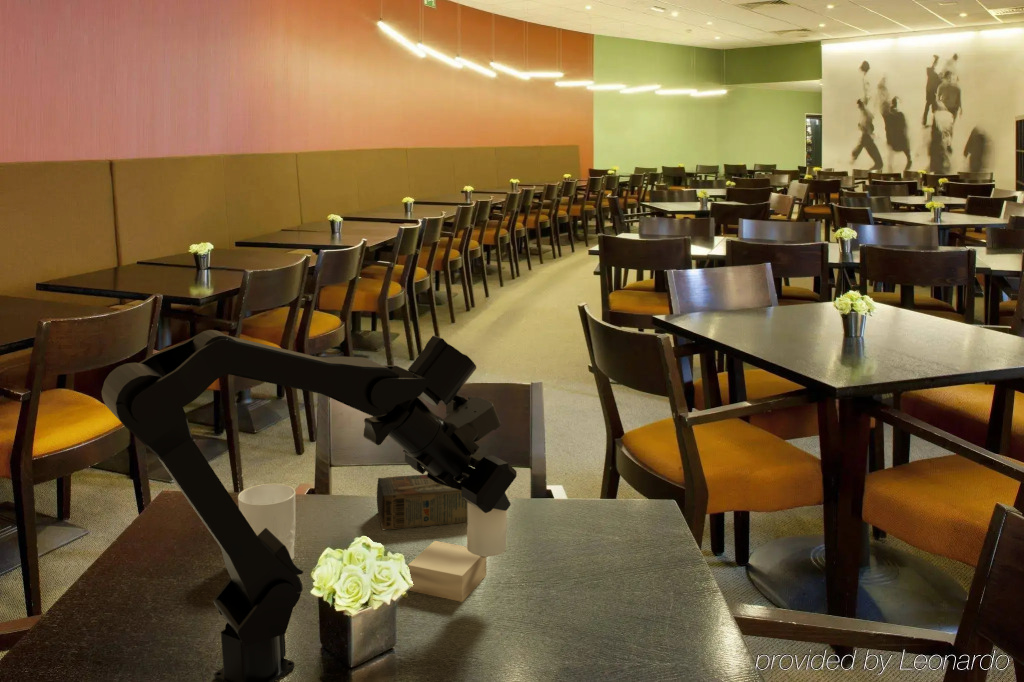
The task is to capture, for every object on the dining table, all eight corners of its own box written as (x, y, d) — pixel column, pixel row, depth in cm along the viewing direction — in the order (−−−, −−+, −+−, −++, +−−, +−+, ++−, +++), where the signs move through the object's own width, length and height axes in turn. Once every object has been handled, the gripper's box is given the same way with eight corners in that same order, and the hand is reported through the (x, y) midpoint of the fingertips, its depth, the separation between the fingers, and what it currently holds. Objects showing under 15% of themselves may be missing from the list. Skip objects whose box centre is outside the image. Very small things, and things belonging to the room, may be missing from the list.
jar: (480, 561, 115) (481, 487, 112) (459, 546, 119) (460, 474, 117) (514, 552, 118) (515, 479, 115) (492, 538, 122) (493, 467, 120)
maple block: (462, 603, 118) (462, 575, 117) (408, 592, 121) (407, 564, 120) (486, 577, 125) (486, 550, 125) (434, 566, 128) (434, 540, 127)
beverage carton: (501, 521, 144) (501, 482, 142) (381, 533, 139) (379, 493, 137) (490, 502, 151) (490, 465, 150) (375, 513, 146) (374, 475, 145)
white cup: (283, 574, 125) (280, 507, 123) (231, 568, 127) (227, 502, 125) (307, 549, 133) (304, 485, 131) (257, 544, 134) (254, 481, 132)
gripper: (504, 399, 104) (576, 472, 112) (424, 366, 118) (493, 432, 127) (445, 477, 101) (523, 545, 109) (371, 432, 116) (445, 496, 124)
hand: (495, 500), depth 118 cm, fingers closed on jar, 5 cm apart
